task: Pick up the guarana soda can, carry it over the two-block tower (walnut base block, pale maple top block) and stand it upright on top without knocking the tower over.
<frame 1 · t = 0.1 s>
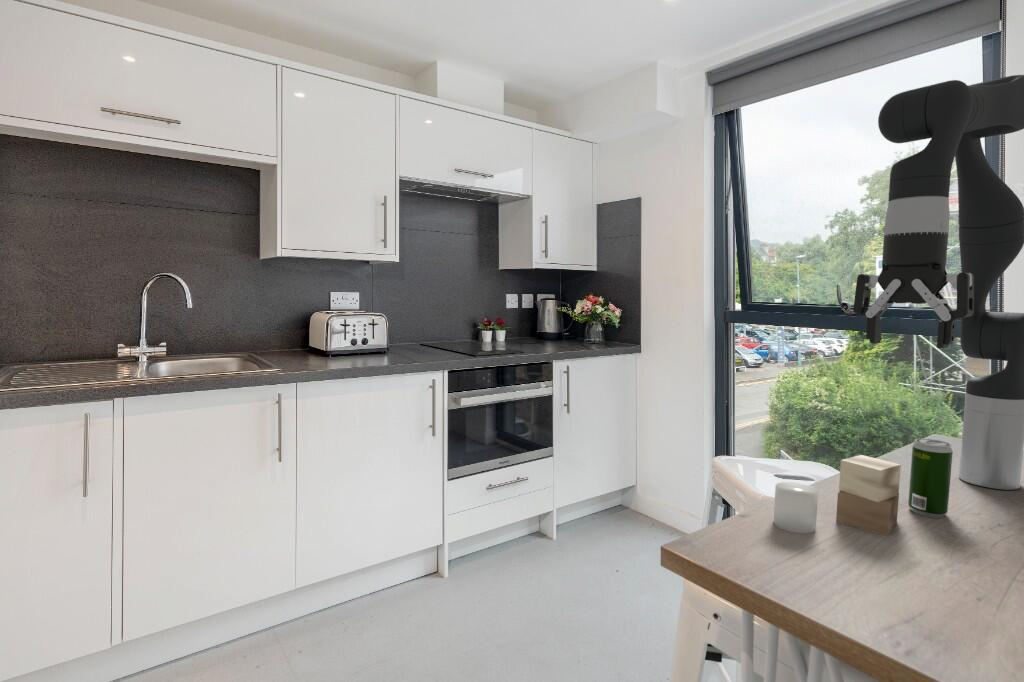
hand: (907, 345, 83), 29 cm above the table, fingers open, 8 cm apart
top block: (868, 492, 91), point 5 cm above the table
guarana soda can: (927, 513, 96), on the table
base block: (866, 523, 92), on the table
white rounded cylinder: (794, 525, 90), on the table
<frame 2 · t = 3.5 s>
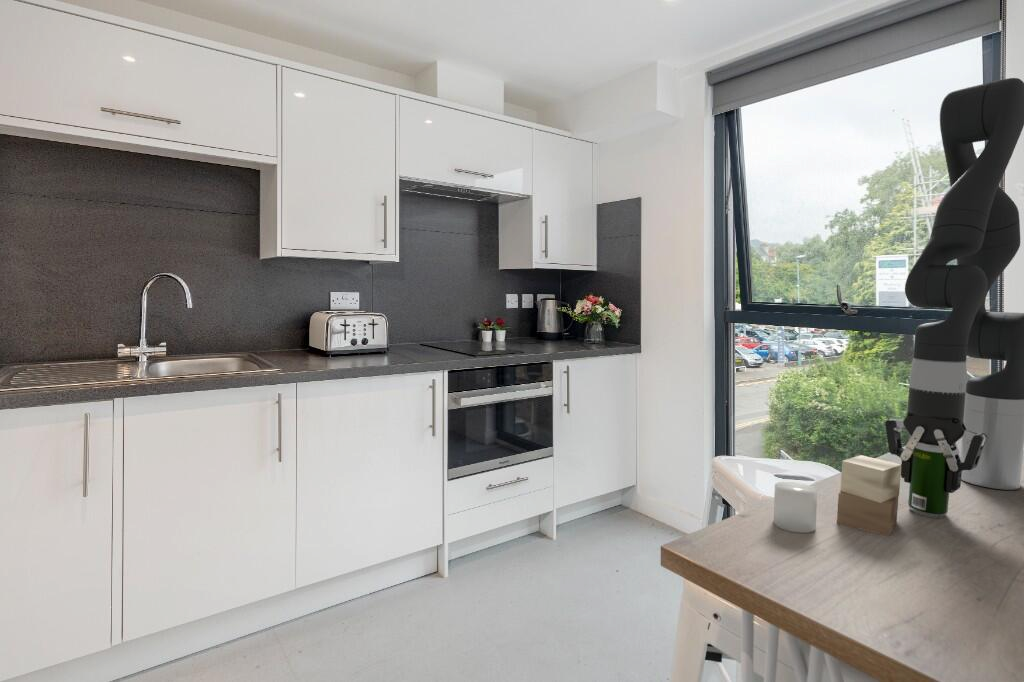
hand: (929, 486, 96), 4 cm above the table, fingers closed on guarana soda can, 5 cm apart
top block: (869, 493, 91), point 5 cm above the table, touching base block
guarana soda can: (927, 513, 96), on the table, touching gripper
base block: (866, 523, 92), on the table, touching top block
everything else where it was.
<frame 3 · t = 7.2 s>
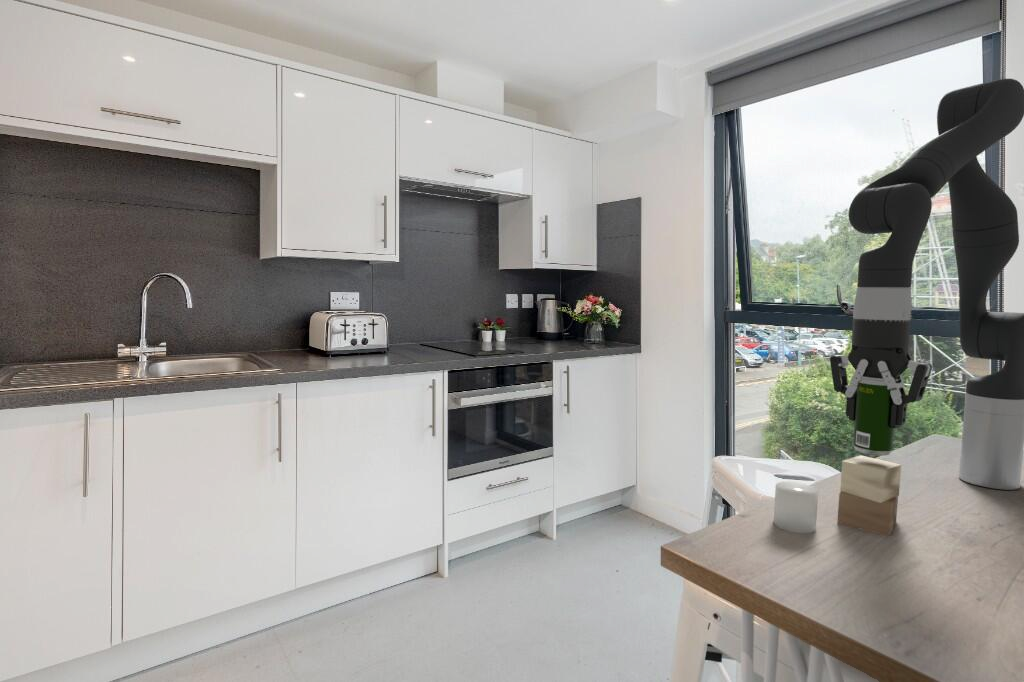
hand: (874, 423, 90), 16 cm above the table, fingers closed on guarana soda can, 5 cm apart
guarana soda can: (872, 452, 91), point 11 cm above the table, touching gripper
everything else where it was.
when the fingers open (15 cm above the table, at t = 8.2 s): guarana soda can moves 1 cm, resting on top block.
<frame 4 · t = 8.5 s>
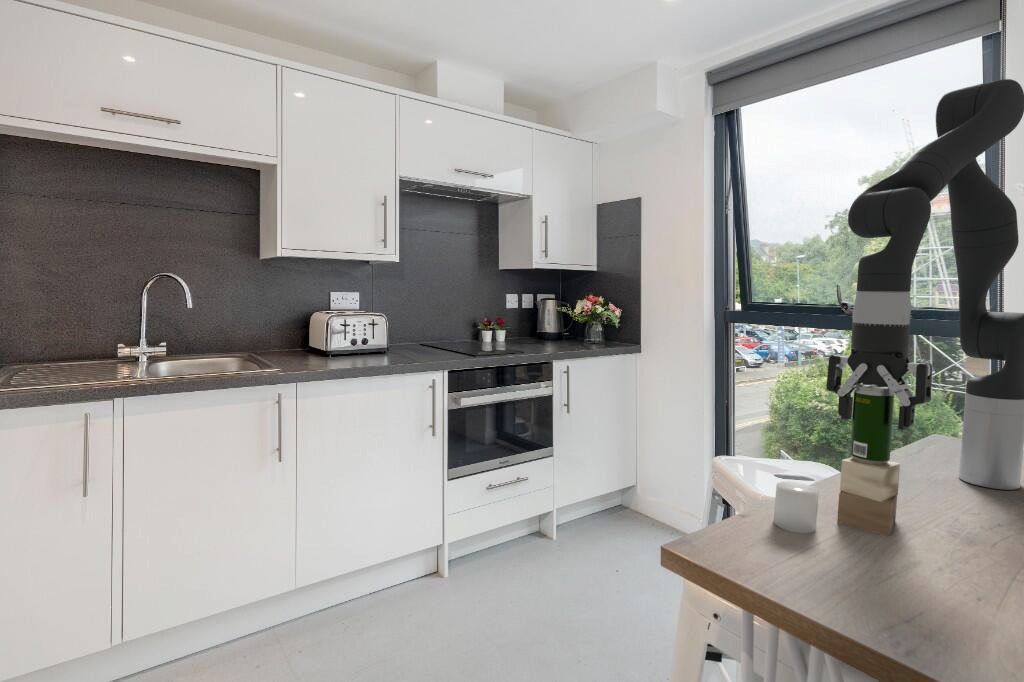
hand: (873, 424, 90), 16 cm above the table, fingers open, 8 cm apart
top block: (868, 492, 91), point 5 cm above the table, touching base block, guarana soda can
guarana soda can: (869, 462, 91), point 10 cm above the table, touching top block
everything else where it was.
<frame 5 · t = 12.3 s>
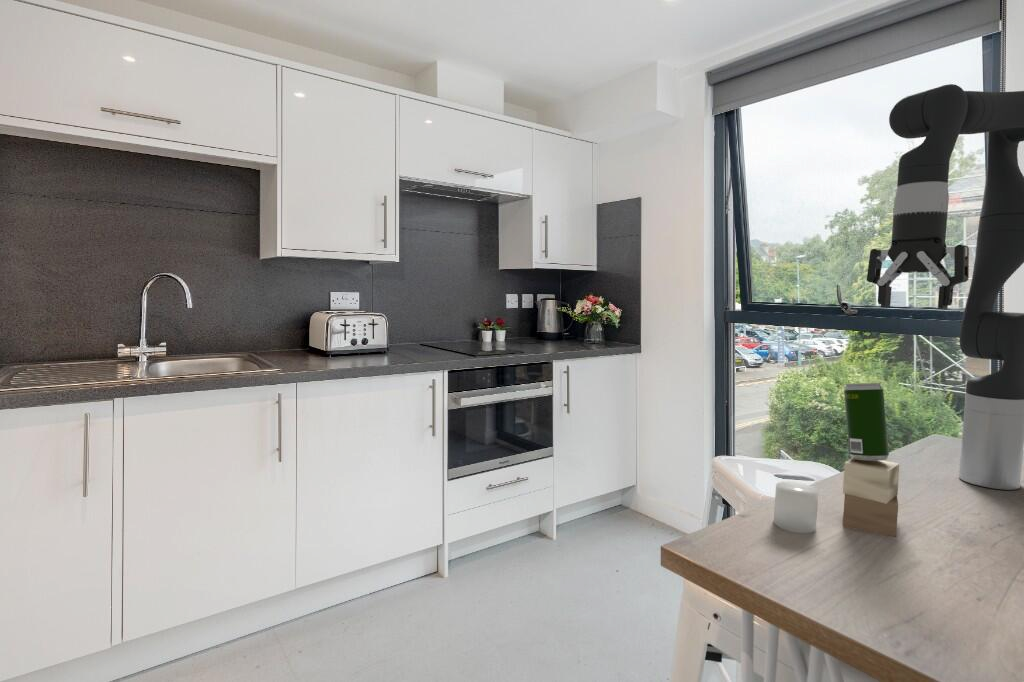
hand: (912, 308, 98), 34 cm above the table, fingers open, 8 cm apart
at the end: guarana soda can 0.6 cm off-centre on the top block, point 5.4 cm above the top block's base; guarana soda can tilted 14°; top block tilted 0° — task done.
